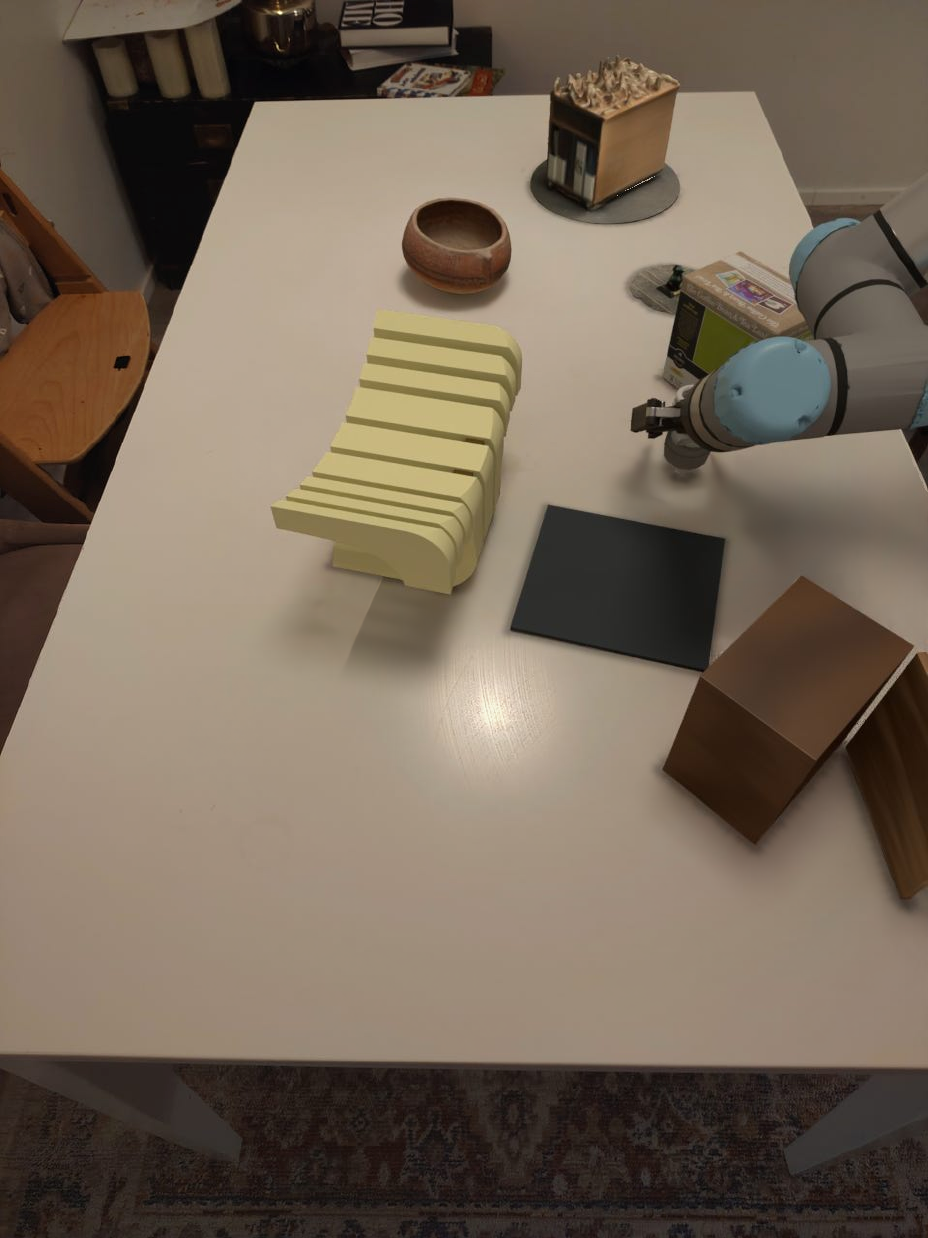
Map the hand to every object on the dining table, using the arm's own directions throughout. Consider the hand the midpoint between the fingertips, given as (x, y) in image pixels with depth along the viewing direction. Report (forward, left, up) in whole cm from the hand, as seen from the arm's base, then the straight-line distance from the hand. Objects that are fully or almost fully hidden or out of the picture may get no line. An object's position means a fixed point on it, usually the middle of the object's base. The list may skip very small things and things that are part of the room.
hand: (685, 428), depth 97 cm
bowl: (+36, -29, -4) cm, 46 cm away
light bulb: (-1, +3, -4) cm, 5 cm away
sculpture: (+5, -35, -4) cm, 35 cm away
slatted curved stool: (+26, +21, -4) cm, 34 cm away
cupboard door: (-25, +42, -3) cm, 49 cm away
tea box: (-5, -13, -4) cm, 14 cm away
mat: (+3, +22, -4) cm, 23 cm away
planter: (+20, -63, -4) cm, 66 cm away
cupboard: (-12, +39, -4) cm, 41 cm away
